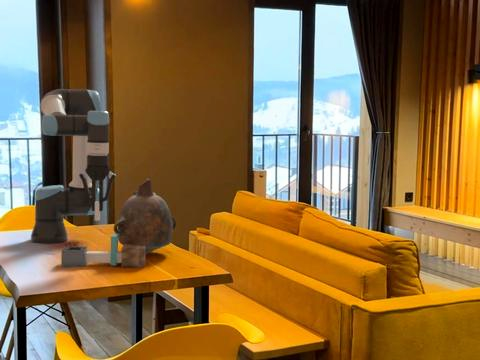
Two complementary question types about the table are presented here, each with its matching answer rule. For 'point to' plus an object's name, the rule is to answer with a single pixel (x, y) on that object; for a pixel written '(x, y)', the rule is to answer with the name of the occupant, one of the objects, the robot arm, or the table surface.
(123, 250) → the socket
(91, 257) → the bolt
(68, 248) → the sleeve
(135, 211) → the jug
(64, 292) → the table surface
